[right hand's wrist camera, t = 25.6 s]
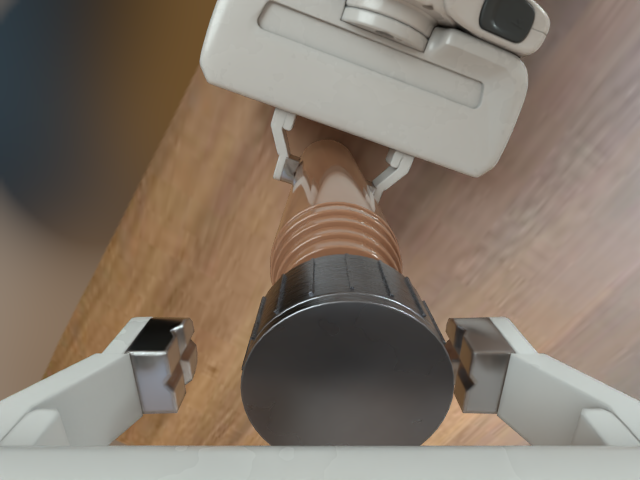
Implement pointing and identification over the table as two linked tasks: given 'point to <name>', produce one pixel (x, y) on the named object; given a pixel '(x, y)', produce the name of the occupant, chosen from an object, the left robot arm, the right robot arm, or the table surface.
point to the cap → (345, 358)
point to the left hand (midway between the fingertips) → (324, 193)
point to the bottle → (331, 213)
